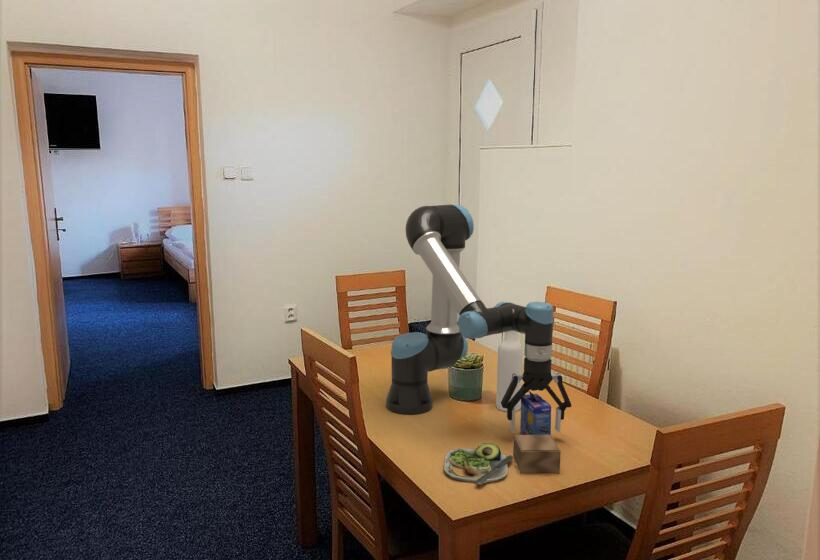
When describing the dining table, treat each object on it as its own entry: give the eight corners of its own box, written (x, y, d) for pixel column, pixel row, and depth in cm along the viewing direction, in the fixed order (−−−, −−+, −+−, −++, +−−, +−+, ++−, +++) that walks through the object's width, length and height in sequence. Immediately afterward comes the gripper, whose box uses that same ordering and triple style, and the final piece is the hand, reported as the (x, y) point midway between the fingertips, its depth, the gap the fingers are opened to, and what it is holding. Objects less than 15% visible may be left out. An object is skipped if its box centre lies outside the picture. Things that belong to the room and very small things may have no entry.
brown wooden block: (520, 473, 164) (521, 450, 163) (513, 456, 174) (514, 434, 173) (559, 473, 164) (560, 450, 163) (550, 455, 174) (551, 434, 173)
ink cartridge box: (518, 434, 188) (520, 386, 185) (536, 432, 189) (538, 385, 187) (532, 448, 178) (534, 399, 176) (551, 446, 180) (553, 397, 177)
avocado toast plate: (512, 493, 155) (512, 475, 154) (438, 487, 158) (438, 469, 157) (513, 457, 174) (513, 441, 173) (447, 452, 177) (447, 436, 176)
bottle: (525, 410, 206) (528, 319, 200) (502, 413, 203) (505, 321, 198) (513, 401, 213) (516, 313, 208) (492, 404, 211) (494, 315, 206)
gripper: (496, 362, 175) (494, 436, 179) (585, 361, 176) (581, 435, 180) (492, 354, 183) (490, 425, 187) (577, 353, 183) (573, 424, 187)
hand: (534, 430), depth 183 cm, fingers open, 12 cm apart
